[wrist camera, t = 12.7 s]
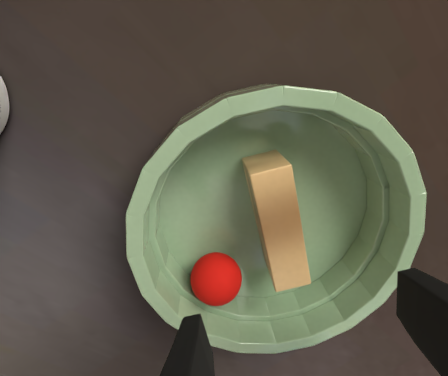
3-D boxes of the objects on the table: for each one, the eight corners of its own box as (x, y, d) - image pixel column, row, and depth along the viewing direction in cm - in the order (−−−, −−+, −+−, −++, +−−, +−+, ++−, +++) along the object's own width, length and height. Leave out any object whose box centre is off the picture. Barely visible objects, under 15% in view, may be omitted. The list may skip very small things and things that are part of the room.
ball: (241, 242, 17) (240, 281, 19) (192, 241, 18) (194, 280, 19) (243, 276, 15) (241, 318, 16) (185, 275, 15) (188, 317, 16)
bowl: (379, 278, 20) (418, 323, 17) (178, 321, 20) (173, 376, 17) (378, 57, 15) (436, 50, 11) (106, 118, 15) (75, 131, 11)
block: (295, 252, 18) (311, 284, 15) (264, 260, 18) (275, 293, 15) (276, 148, 16) (292, 164, 13) (241, 157, 16) (249, 175, 13)
